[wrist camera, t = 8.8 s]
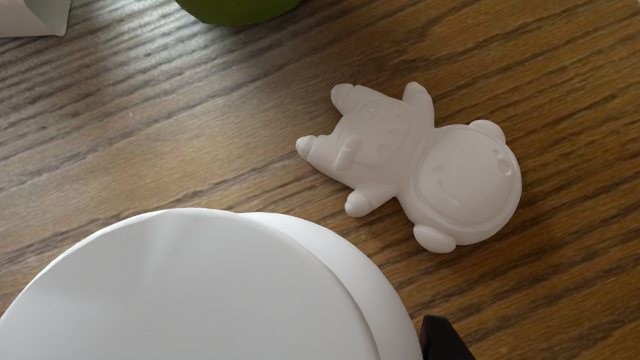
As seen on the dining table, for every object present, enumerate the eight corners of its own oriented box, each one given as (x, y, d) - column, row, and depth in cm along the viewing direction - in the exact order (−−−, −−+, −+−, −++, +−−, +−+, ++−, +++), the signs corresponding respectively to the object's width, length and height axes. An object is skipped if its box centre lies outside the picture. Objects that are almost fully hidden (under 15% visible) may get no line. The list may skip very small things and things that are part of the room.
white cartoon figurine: (361, 61, 26) (360, 29, 23) (544, 159, 23) (569, 135, 20) (277, 170, 24) (265, 150, 21) (463, 294, 21) (478, 289, 18)
